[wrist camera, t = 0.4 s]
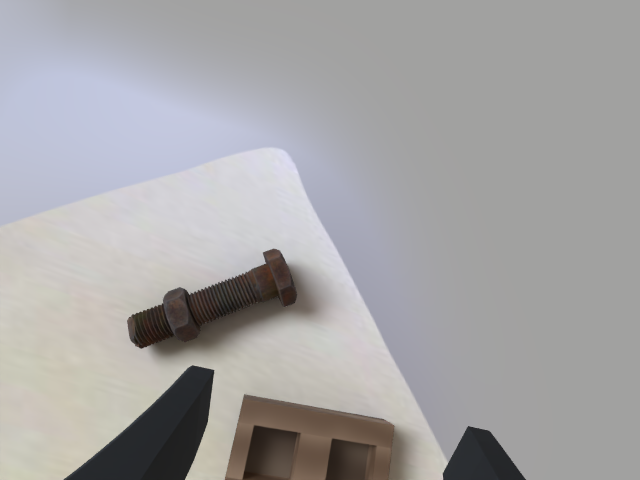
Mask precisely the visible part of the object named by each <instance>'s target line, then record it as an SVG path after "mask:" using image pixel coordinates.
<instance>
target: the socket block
mask: <svg viewBox="0 0 640 480" xmlns="http://www.w3.org/2000/svg"><path fill="white" fill-rule="evenodd" d="M393 432H394V425H392V424H391V423H389V422H387V421H386V420H384V419H379V418H374V417H368V416H362V415H357V414H351V413H346V412H340V411H334V410H329V409H323V408H317V407H312V406H306V405H301V404H295V403H289V402H284V401H278V400H273V399H267V398H261V397H256V396H250V395H245V394H244V398H243V402H242V407H241V411H240V415H239V420H238V424H237V428H236V433H235V437H234V442H233V446H232V450H231V455H230V459H229V464H228V468H227V472H226V477H225V480H388V476H389V468H390V459H391V450H392V441H393Z"/></svg>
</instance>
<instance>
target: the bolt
mask: <svg viewBox="0 0 640 480" xmlns="http://www.w3.org/2000/svg"><path fill="white" fill-rule="evenodd" d="M263 255H264V258H265V262H266V264H264V265H262V266H259V267H256V268H254V269H251V271H249V272H248V273H247V272H246V273H245V275H244V274H242V276H241V275H239V276H238V277H237V276H236V277H235V279H234V278H233V277H232V280H231V279H228V281H227V280H225V282H223V281H222V282H221V283H219V282H218V285H217V284H215V286H213V285H212V286H211V287H209V286H208V289H207V288H206V287H205V289H204V290H203V289H201V291H199V290H198V292H194V294H193V293H191V294H190V295H189V294H188V292H187V290H185V289H183V288H181V287H179V288H177V289H174V290H171V291H169V292H168V293H167V294H166V295H165V296H164V299H163V303H162V305H158V307H156V306H155V307H154V308H151V309H147V311H145V310H143V312H139V313H136V314H135V315H134V314H133V315H132V316H131V317H129V318H128V320H127V322H128V330H129V336H130V339H131V341H132V342H133V343H134V344H135V346H137V347H139V348H144V347H147V346H149V345H151V344H154V343H155V342H156V343H157V342H158V341H162V339H163V340H165V339H166V338H169V337H172V336H173V335H175V336H176V338H177V339H179V340H181V341H184V342H186V341H189V340H191V339H194V338H196V337H197V336H198V335H199V333H200V331H201V330H200V326H201V325H202V323H203V324H205V322H207V323H208V322H209V320H210V321H212V319H213V320H215V319H216V318H218V319H219V316H220V317H223V315H224V316H226V314H229V313H230V312H231V313H233V311H234V312H236V309H237V310H239V309H240V308H241V309H243V307H245V308H246V305H247V306H248V307H249V306H250V304H251V305H253V303H255V304H256V302H258V303H259V302H264V301H267V300H269V299H272V298H275V297H277V296H278V297H279V299H280V301H281V303H282V305H283V307H286V306H288V305H291V304H293V303H295V300H296V297H297V292H296V289H295V286H294V282H293V280H292V277H291V274H290V271H289V268H288V266H287V264H286V262H285V259H284V257H283V255H282V254H281V252H280V251H279V250H277V249H271V250H269V251H266V252H263Z"/></svg>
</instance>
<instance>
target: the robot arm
mask: <svg viewBox="0 0 640 480" xmlns="http://www.w3.org/2000/svg"><path fill="white" fill-rule="evenodd" d="M213 376H214V370H211V369H207V368H202V367H198V366H193V365H192V366H191V367H189V368H188V369H187V370H186V371H185V372H184V373H183V374H182V375H181V376H180V377H179V378H178V379H177V380H176V381H175V382H174V384H173V385H172V386H171V387H170V388H169V389H168V390H167V391H166V392H165V393H164V394H163V395H162V396H161V397H160V398H159V399H157V400H156V401H155V402H154V403H153V404H152V405H151V406H150V407H149V408H148V409H147V410H146V411H145V412H144V413H143V414H142V415H140V416H139V417H138V418H137V419H136V420H135V421H134V422H133V423H132V424H131V425H130V426H128V427H127V428H126V429H125V430H124V431H123V432H122V433H120V434H119V435H118V436H117V437H116V438H115V439H113V440H112V441H111V442H110V443H109V444H107V445H106V446H105V447H104V448H103V449H101V450H100V451H99V452H98V453H97V454H96V455H94V456H93V457H92V458H91V459H89V460H88V461H87V462H86V463H84V464H83V465H82V466H81V467H79V468H78V469H77V470H76V471H74V472H73V473H72V474H70V475H69V476H68V477H66V478H65V479H64V480H185V478H186V476H187V474H188V472H189V470H190V467H191V465H192V463H193V461H194V458H195V456H196V453H197V450H198V448H199V445H200V442H201V439H202V437H203V434H204V431H205V428H206V426H207V423H208V416H209V408H210V400H211V392H212V384H213ZM443 480H526V479H525V478H524V477H523V475H522V474H521V473H520V471H519V470H518V469H517V467H516V466H515V465H514V463H513V462H512V461H511V459H510V458H509V456H508V455H507V454H506V452H505V451H504V450H503V448H502V447H501V445H500V444H499V443H498V441H497V440H496V439H495V437H494V436H493V435H492V434H491V432H490V431H488V430H483V429H479V428H474V427H469V426H468V427H467V429H466V431H465V433H464V435H463V437H462V439H461V441H460V442H459V444H458V446H457V448H456V450H455V452H454V454H453V455H452V457H451V459H450V461H449V463H448V465H447V467H446V469H445V470H444V472H443Z"/></svg>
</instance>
